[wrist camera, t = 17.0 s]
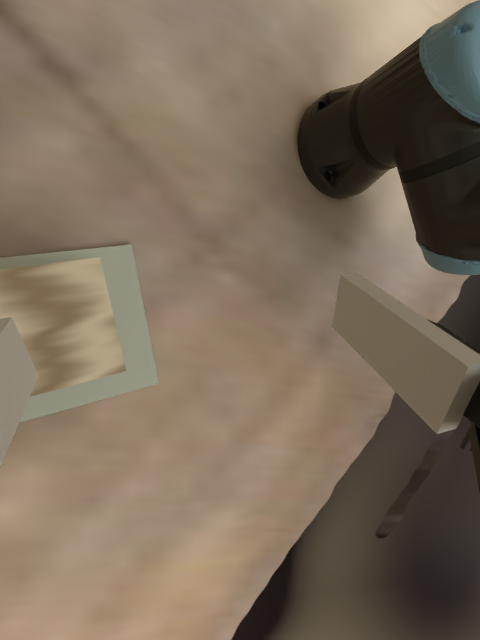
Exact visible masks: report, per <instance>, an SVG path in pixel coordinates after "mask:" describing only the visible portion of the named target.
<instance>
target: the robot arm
mask: <svg viewBox="0 0 480 640" xmlns="http://www.w3.org/2000/svg"><path fill="white" fill-rule="evenodd" d="M298 147H299V154H300V159H301V162H302V165H303V168H304V170H305V172H306V174H307V176H308V178H309V179H310V181H311V182H312V183H313V185H314V186H315V187H316V188H317V189H318V190H319V191H321V192H322V193H324V194H325V195H327V196H330V197H333V198H339V199H341V198H347V197H350V196H353V195H356V194H359V193H361V192H363V191H364V190H366V189H367V188H368V187H369V186H371V185H372V184H373V183H374V182H375V181H376V180H378V179H379V178H380V177H381V176H382V175H383V174H385V173H386V172H387V171H388V170H389V169H392V168H394V167H397V169H398V172H399V175H400V179H401V183H402V186H403V190H404V193H405V197H406V200H407V203H408V207H409V210H410V214H411V217H412V221H413V224H414V228H415V231H416V241H417V242H418V245H419V246H420V247H421V250H422V252H423V255H424V258H425V260H426V261H427V263H428V264H429V265H430V266H431V267H433V268H435V269H436V270H439V271H441V272H445V273H450V274H457V275H478V274H480V0H479V1H476V2H473V3H470V4H468V5H466V6H464V7H463V8H461V9H460V10H458V11H457V12H455V13H454V14H452V15H451V16H449V17H448V18H447V19H445V20H444V21H442V22H441V23H438V24H435V25H433V26H432V27H430V28H429V29H428V30H427V31H426V33H424V34H423V36H422V37H420V38H419V39H418V40H416V41H415V42H414V43H413V44H411V45H410V46H409V47H407V48H406V49H405V50H403V51H402V52H401V53H399V54H398V55H397V56H396V57H394V58H393V59H392V60H390V61H389V62H388V63H386V64H385V65H384V66H382V67H381V68H380V69H378V70H377V71H376V72H374V73H373V74H372V75H371V76H369V77H368V78H367V79H365V80H364V81H363V82H361V83H358V84H354V85H350V86H347V87H343V88H339V89H336V90H332V91H330V92H328V93H326V94H324V95H323V96H322V97H320V98H319V99H318V100H317V101H315V102H314V103H313V104H312V105H311V106H310V107H309V108H308V110H307V111H306V113H305V114H304V116H303V119H302V121H301V124H300V129H299V136H298ZM332 327H333V328H334V329H335V330H336V331H337V332H338V333H339V334H340V335H341V336H342V337H343V338H344V339H345V340H346V341H347V342H348V343H349V344H350V345H351V346H352V347H353V348H354V349H355V350H356V351H357V352H358V353H359V355H360V356H361V357H362V358H363V359H364V360H365V361H366V362H367V363H368V364H369V365H370V366H371V367H372V368H373V369H374V370H375V371H376V372H377V373H378V374H379V375H380V376H381V377H382V378H383V379H384V380H385V381H386V382H387V383H388V384H389V385H390V386H391V387H392V388H393V389H394V390H395V391H396V392H397V394H399V395H400V397H401V398H402V399H403V400H404V401H405V402H406V403H407V404H408V405H409V406H410V407H411V408H412V409H413V410H414V411H415V412H416V413H417V414H418V415H419V416H420V417H421V418H422V419H423V420H424V421H425V422H426V423H427V424H428V425H429V426H430V427H431V428H432V429H433V430H434V431H435V432H436V434H439V433H442V432H446V431H450V430H453V429H457V427H458V425H459V423H460V421H461V419H462V417H463V415H464V416H466V417H467V418H468V419H469V420H470V421H471V422H472V423H471V425H470V427H469V428H468V430H467V432H466V434H465V436H464V438H463V439H462V441H461V445H460V447H461V448H463V449H464V448H465V446H466V444H467V443H468V442H471V449H470V451H472V453H473V458H474V464H475V470H476V475H477V481H478V486H479V491H480V350H479V349H477V348H476V347H474V346H473V345H471V344H470V343H468V342H465V341H464V339H462V338H460V337H459V336H457V335H454V333H453V332H451V331H450V330H448V329H447V328H445V327H444V326H442V325H440V324H437V323H435V322H432V321H430V320H427V319H425V318H424V317H422V316H421V315H419V314H418V313H416V312H415V311H413V310H412V309H410V308H409V307H407V306H406V305H404V304H403V303H401V302H400V301H398V300H396V299H395V298H393V297H392V296H390V295H389V294H387V293H386V292H384V291H383V290H381V289H380V288H378V287H377V286H375V285H374V284H372V283H371V282H369V281H368V280H366V279H365V278H363V277H362V276H360V275H359V274H357V273H349V274H341V275H340V282H339V288H338V294H337V300H336V306H335V312H334V318H333V324H332ZM38 376H39V375H38V373H37V371H36V369H35V367H34V364H33V362H32V360H31V358H30V356H29V353H28V351H27V349H26V347H25V345H24V343H23V340H22V338H21V336H20V334H19V332H18V330H17V327H16V325H15V323H14V321H13V319H12V317H9V318H2V319H0V467H1V465H2V463H3V460H4V458H5V455H6V453H7V451H8V448H9V446H10V443H11V441H12V439H13V436H14V434H15V431H16V429H17V427H18V424H19V422H20V419H21V417H22V415H23V412H24V410H25V408H26V405H27V403H28V400H29V398H30V396H31V393H32V391H33V388H34V386H35V384H36V381H37V379H38Z"/></svg>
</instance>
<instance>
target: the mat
mask: <svg viewBox="0 0 480 640" xmlns="http://www.w3.org/2000/svg"><path fill="white" fill-rule="evenodd" d="M96 257H100V259H101V264H102V268H103V272H104V277H105V281H106V285H107V289H108V294H109V298H110V302H111V307H112V311H113V315H114V319H115V324H116V328H117V332H118V337H119V341H120V345H121V349H122V354H123V358H124V362H125V367H126V371H124V372H121V373H117V374H113V375H109V376H106V377H102V378H98V379H94V380H91V381H87V382H83V383H80V384H76V385H72V386H68V387H65V388H61V389H57V390H53V391H50V392H46V393H42V394H39V395H35V396H31V397H30V398H29V400H28V403H27V405H26V408H25V410H24V412H23V415H22V417H21V419H20V422H24V421H27V420H31V419H34V418H38V417H41V416H45V415H49V414H52V413H56V412H59V411H63V410H67V409H70V408H74V407H77V406H81V405H85V404H88V403H92V402H95V401H99V400H102V399H106V398H110V397H113V396H117V395H120V394H124V393H128V392H131V391H135V390H138V389H142V388H145V387H149V386H153V385H156V384H159V381H158V376H157V371H156V366H155V361H154V356H153V351H152V346H151V341H150V336H149V330H148V325H147V320H146V315H145V310H144V305H143V300H142V295H141V290H140V285H139V280H138V275H137V269H136V264H135V259H134V254H133V249H132V244H131V245H121V246H111V247H102V248H92V249H82V250H72V251H62V252H52V253H42V254H32V255H23V256H13V257H3V258H0V270H2V269H10V268H18V267H26V266H33V265H41V264H49V263H57V262H65V261H73V260H80V259H88V258H96ZM20 422H19V423H20Z"/></svg>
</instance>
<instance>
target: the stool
mask: <svg viewBox="0 0 480 640" xmlns="http://www.w3.org/2000/svg"><path fill="white" fill-rule="evenodd" d="M9 317H12V319H13V321H14V323H15V325H16V327H17V330H18V332H19V334H20V336H21V338H22V340H23V343H24V345H25V347H26V349H27V351H28V353H29V356H30V358H31V360H32V362H33V364H34V367H35V369H36V371H37V373H38V375H39V376H38V379H37V381H36V384H35V386H34V388H33V391H32V393H31V396H35V395H39V394H42V393H46V392H50V391H53V390H57V389H61V388H65V387H68V386H72V385H76V384H80V383H83V382H87V381H91V380H94V379H98V378H102V377H106V376H109V375H113V374H117V373H121V372H124V371H126V367H125V362H124V358H123V354H122V349H121V345H120V341H119V337H118V332H117V328H116V324H115V319H114V315H113V311H112V307H111V302H110V298H109V294H108V289H107V285H106V281H105V277H104V272H103V268H102V264H101V259H100V257H96V258H88V259H80V260H73V261H65V262H57V263H49V264H41V265H33V266H26V267H18V268H10V269H2V270H0V319H2V318H9ZM31 396H30V397H31Z"/></svg>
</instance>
